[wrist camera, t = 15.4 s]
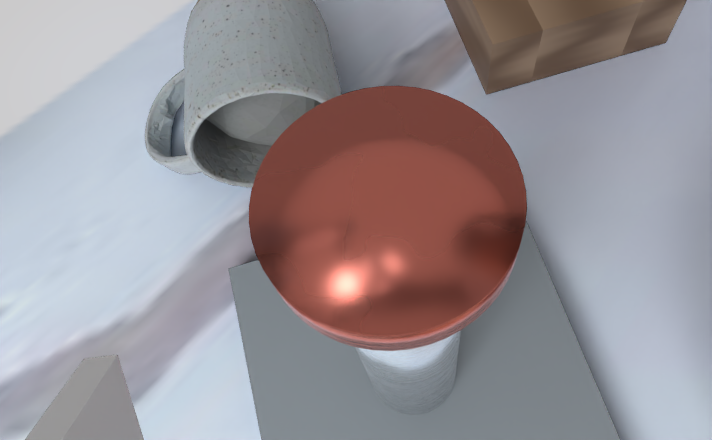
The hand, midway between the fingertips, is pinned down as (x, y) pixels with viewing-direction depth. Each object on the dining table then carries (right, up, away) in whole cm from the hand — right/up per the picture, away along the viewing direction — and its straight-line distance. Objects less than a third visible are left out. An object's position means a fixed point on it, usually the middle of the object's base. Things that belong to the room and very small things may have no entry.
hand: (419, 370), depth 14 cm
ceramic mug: (-7, +8, +21) cm, 23 cm away
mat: (+1, -4, +14) cm, 15 cm away
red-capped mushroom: (+1, -3, +13) cm, 14 cm away
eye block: (+9, +16, +22) cm, 29 cm away
